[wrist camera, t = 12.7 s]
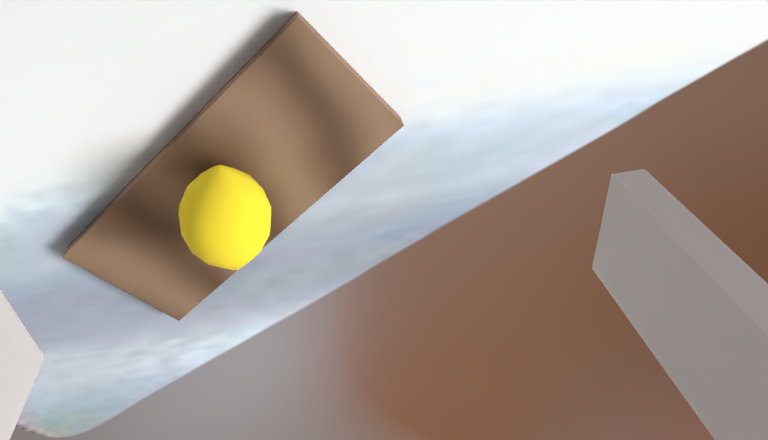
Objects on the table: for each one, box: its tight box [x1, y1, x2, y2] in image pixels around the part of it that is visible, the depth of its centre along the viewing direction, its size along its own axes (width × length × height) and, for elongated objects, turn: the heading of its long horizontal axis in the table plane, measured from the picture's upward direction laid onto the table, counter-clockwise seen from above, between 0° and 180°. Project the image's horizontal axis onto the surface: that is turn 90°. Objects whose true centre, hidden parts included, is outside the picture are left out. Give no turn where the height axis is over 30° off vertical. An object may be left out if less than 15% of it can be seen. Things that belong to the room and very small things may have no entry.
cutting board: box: [63, 12, 404, 320], centre depth 36 cm, size 22×9×1 cm, turn 131°
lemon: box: [179, 165, 271, 270], centre depth 33 cm, size 7×5×5 cm
